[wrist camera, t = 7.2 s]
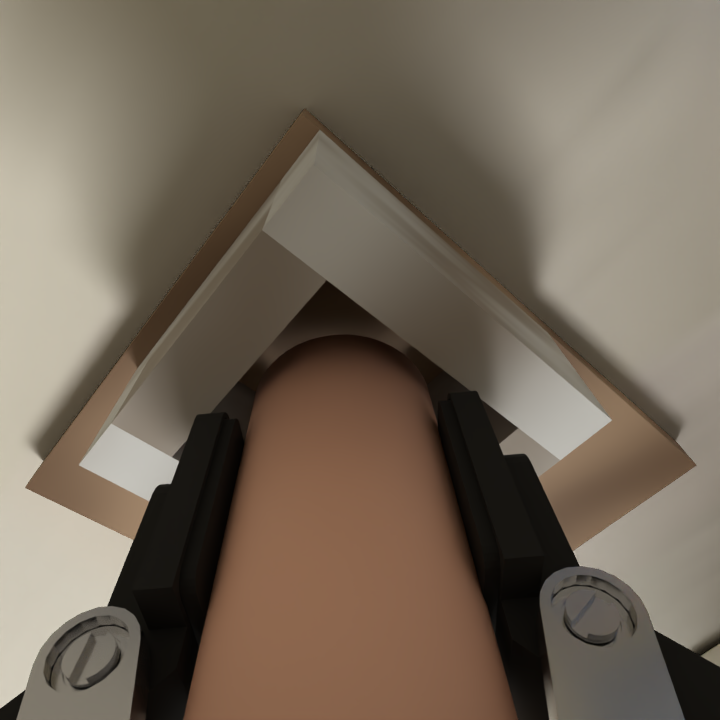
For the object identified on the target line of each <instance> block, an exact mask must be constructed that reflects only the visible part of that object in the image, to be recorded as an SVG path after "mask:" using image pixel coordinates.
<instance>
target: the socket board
mask: <svg viewBox="0 0 720 720" xmlns="http://www.w3.org/2000/svg"><path fill="white" fill-rule="evenodd" d="M343 334H348V335H359V336H364V337H369V338H373V339H376V340H378V341H381V342H384V343H386V344H388V345H390V346H392V347H394V348H395V349H397V350H398V351H400V352H402V353H403V354H404V355H405V356H406V357H408V358H409V359H410V360H411V361H412V362H413V363H414V365H415V366H416V367H417V368H418V369H419V371H420V373H421V374H422V376H423V377H424V380H425V382H426V384H427V387H428V390H429V394H430V398H431V401H432V405H433V409H434V412H435V416H436V420H437V423H438V401H445V400H447V396H448V393H453V392H465V391H477V392H478V394H479V396H480V399H481V401H482V404H483V406H484V409H485V411H486V413H487V416H488V418H489V421H490V423H491V426H492V428H493V431H494V433H495V435H496V438H497V440H498V443H499V445H500V448H501V450H502V453H503V455H511V454H523V453H524V454H526V455H527V456H528V458H529V459H530V461H531V463H532V465H533V467H534V470H535V472H536V474H537V476H538V478H539V480H540V482H541V485H542V487H543V489H544V491H545V493H546V495H547V497H548V500H549V502H550V504H551V506H552V508H553V510H554V512H555V515H556V517H557V519H558V521H559V523H560V525H561V527H562V530H563V532H564V534H565V536H566V538H567V540H568V542H569V545H570V547H571V549H572V551H573V550H575V549H576V548H578V547H579V546H580V545H582V544H583V543H585V542H586V541H588V540H589V539H591V538H592V537H593V536H595V535H596V534H598V533H599V532H601V531H602V530H604V529H605V528H607V527H608V526H609V525H611V524H612V523H614V522H615V521H617V520H618V519H620V518H621V517H622V516H624V515H625V514H627V513H628V512H630V511H631V510H633V509H634V508H636V507H637V506H638V505H640V504H641V503H643V502H644V501H646V500H647V499H649V498H650V497H651V496H653V495H654V494H656V493H657V492H659V491H660V490H662V489H663V488H665V487H666V486H667V485H669V484H670V483H672V482H673V481H675V480H676V479H678V478H679V477H680V476H682V475H683V474H685V473H686V472H688V471H689V470H691V469H692V468H694V467H695V466H696V464H695V463H694V462H693V461H692V459H691V458H690V457H689V456H688V455H687V454H686V452H685V451H684V450H683V449H682V448H681V447H680V445H679V444H678V443H677V442H676V441H675V440H674V439H673V438H672V437H670V436H669V435H668V434H667V433H666V432H665V431H664V430H663V429H662V428H660V427H659V426H658V425H657V424H656V423H655V422H654V421H653V420H651V419H650V418H649V417H648V416H647V415H646V414H645V413H644V412H643V411H641V410H640V409H639V408H638V407H637V406H636V405H635V404H634V403H633V402H631V401H630V400H629V399H628V398H627V397H626V396H625V395H624V394H623V393H621V392H620V391H619V390H618V389H617V388H616V387H615V386H614V385H612V384H611V383H610V382H609V381H608V380H607V379H606V378H605V377H604V376H602V375H601V374H600V373H599V372H598V371H597V370H596V369H595V368H594V367H592V366H591V365H590V364H589V363H588V362H587V361H586V360H585V359H584V358H582V357H581V356H580V355H579V354H578V353H577V352H576V351H575V350H573V349H572V348H571V347H570V346H569V345H568V344H567V343H566V342H565V341H563V340H562V339H561V338H560V337H559V336H558V335H557V334H556V333H555V332H553V331H552V330H551V329H550V328H549V327H548V326H547V325H546V324H545V323H543V322H542V321H541V320H540V319H539V318H538V317H537V316H536V315H534V314H533V313H532V312H531V311H530V310H529V309H528V308H527V307H526V306H524V305H523V304H522V303H521V302H520V301H519V300H518V299H517V298H516V297H514V296H513V295H512V294H511V293H510V292H509V291H508V290H507V289H506V288H504V287H503V286H502V285H501V284H500V283H499V282H498V281H497V280H495V279H494V278H493V277H492V276H491V275H490V274H489V273H488V272H487V271H485V270H484V269H483V268H482V267H481V266H480V265H479V264H478V263H477V262H475V261H474V260H473V259H472V258H471V257H470V256H469V255H468V254H467V253H465V252H464V251H463V250H462V249H461V248H460V247H459V246H458V245H456V244H455V243H454V242H453V241H452V240H451V239H450V238H449V237H448V236H446V235H445V234H444V233H443V232H442V231H441V230H440V229H439V228H438V227H436V226H435V225H434V224H433V223H432V222H431V221H430V220H429V219H428V218H426V217H425V216H424V215H423V214H422V213H421V212H420V211H419V210H417V209H416V208H415V207H414V206H413V205H412V204H411V203H410V202H409V201H407V200H406V199H405V198H404V197H403V196H402V195H401V194H400V193H399V192H397V191H396V190H395V189H394V188H393V187H392V186H391V185H390V184H389V183H387V182H386V181H385V180H384V179H383V178H382V177H381V176H380V175H378V174H377V173H376V172H375V171H374V170H373V169H372V168H371V167H370V166H368V165H367V164H366V163H365V162H364V161H363V160H362V159H361V158H360V157H358V156H357V155H356V154H355V153H354V152H353V151H352V150H351V149H350V148H348V147H347V146H346V145H345V144H344V143H343V142H342V141H341V140H339V139H338V138H337V137H336V136H335V135H334V134H333V133H332V132H331V131H329V130H328V129H327V128H326V127H325V126H324V125H323V124H322V123H321V122H319V121H318V120H317V119H316V118H315V117H314V116H313V115H312V114H311V113H309V112H308V111H307V110H306V109H305V108H304V110H303V111H302V112H301V114H300V115H299V116H298V118H297V119H296V120H295V122H294V123H293V124H292V126H291V127H290V128H289V130H288V131H287V132H286V134H285V135H284V137H283V138H282V139H281V141H280V142H279V143H278V145H277V146H276V147H275V149H274V150H273V151H272V153H271V154H270V155H269V157H268V158H267V160H266V161H265V162H264V164H263V165H262V166H261V168H260V169H259V170H258V172H257V173H256V174H255V176H254V177H253V178H252V180H251V181H250V183H249V184H248V185H247V187H246V188H245V189H244V191H243V192H242V193H241V195H240V196H239V197H238V199H237V200H236V201H235V203H234V204H233V206H232V207H231V208H230V210H229V211H228V212H227V214H226V215H225V216H224V218H223V219H222V220H221V222H220V223H219V224H218V226H217V227H216V229H215V230H214V231H213V233H212V234H211V235H210V237H209V238H208V239H207V241H206V242H205V243H204V245H203V246H202V247H201V249H200V250H199V251H198V253H197V254H196V256H195V257H194V258H193V260H192V261H191V262H190V264H189V265H188V266H187V268H186V269H185V270H184V272H183V273H182V274H181V276H180V277H179V279H178V280H177V281H176V283H175V284H174V285H173V287H172V288H171V289H170V291H169V292H168V293H167V295H166V296H165V297H164V299H163V300H162V302H161V303H160V304H159V306H158V307H157V308H156V310H155V311H154V312H153V314H152V315H151V316H150V318H149V319H148V320H147V322H146V323H145V325H144V326H143V327H142V329H141V330H140V331H139V333H138V334H137V335H136V337H135V338H134V339H133V341H132V342H131V343H130V345H129V346H128V348H127V349H126V350H125V352H124V353H123V354H122V356H121V357H120V358H119V360H118V361H117V362H116V364H115V365H114V366H113V368H112V369H111V370H110V372H109V373H108V375H107V376H106V377H105V379H104V380H103V381H102V383H101V384H100V385H99V387H98V388H97V389H96V391H95V392H94V393H93V395H92V396H91V398H90V399H89V400H88V402H87V403H86V404H85V406H84V407H83V408H82V410H81V411H80V412H79V414H78V415H77V416H76V418H75V419H74V421H73V422H72V423H71V425H70V426H69V427H68V429H67V430H66V431H65V433H64V434H63V435H62V437H61V438H60V439H59V441H58V442H57V444H56V445H55V446H54V448H53V449H52V450H51V452H50V453H49V454H48V456H47V457H46V458H45V460H44V461H43V462H42V464H41V465H40V467H39V468H38V470H37V471H36V473H35V474H34V475H33V477H32V478H31V480H30V481H29V483H28V484H27V485H26V487H25V488H27V489H29V490H31V491H33V492H35V493H37V494H39V495H41V496H43V497H45V498H47V499H49V500H52V501H54V502H56V503H58V504H60V505H62V506H64V507H66V508H68V509H70V510H72V511H74V512H76V513H79V514H81V515H83V516H85V517H87V518H89V519H91V520H93V521H95V522H97V523H99V524H101V525H104V526H106V527H108V528H110V529H112V530H114V531H116V532H118V533H120V534H122V535H124V536H126V537H128V538H131V539H133V540H134V538H135V536H136V533H137V531H138V528H139V526H140V523H141V521H142V518H143V516H144V513H145V511H146V508H147V506H148V503H149V501H150V498H151V496H152V493H153V492H154V490H155V488H156V487H157V486H158V485H160V484H171V482H172V480H173V477H174V474H175V471H176V469H177V466H178V463H179V460H180V458H181V455H182V452H183V449H184V447H185V444H186V441H187V439H188V436H189V433H190V430H191V428H192V425H193V422H194V419H195V417H196V415H198V414H208V413H220V412H226V413H227V414H228V416H229V418H230V419H235V418H237V419H238V421H239V423H240V427H241V432H242V436H243V440H244V443H245V438H246V434H247V429H248V425H249V420H250V416H251V411H252V407H253V402H254V398H255V393H256V390H257V387H258V384H259V382H260V380H261V378H262V376H263V375H264V373H265V372H266V370H267V369H268V368H269V366H270V365H271V364H272V363H273V362H274V361H275V360H276V359H277V358H278V357H279V356H281V355H282V354H283V353H285V352H286V351H287V350H289V349H291V348H293V347H294V346H296V345H298V344H300V343H303V342H305V341H308V340H311V339H314V338H318V337H322V336H329V335H343Z"/></svg>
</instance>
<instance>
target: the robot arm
mask: <svg viewBox="0 0 720 720" xmlns="http://www.w3.org/2000/svg"><path fill="white" fill-rule="evenodd" d="M438 431H439V435H440V438H441V442H442V446H443V450H444V453H445V457H446V461H447V464H448V468H449V472H450V476H451V479H452V483H453V487H454V490H455V494H456V498H457V502H458V505H459V509H460V513H461V517H462V520H463V524H464V528H465V531H466V535H467V539H468V543H469V546H470V550H471V554H472V557H473V561H474V565H475V569H476V572H477V576H478V580H479V584H480V587H481V591H482V595H483V598H484V600H485V602H486V604H487V607H488V611H489V614H490V618H491V622H492V625H493V629H494V633H495V636H496V640H497V644H498V647H499V651H500V655H501V658H502V662H503V666H504V669H505V673H506V677H507V680H508V684H509V688H510V692H511V695H512V699H513V703H514V706H515V710H516V714H517V717H518V720H720V644H718V645H716V646H715V647H713V648H712V649H710V650H709V651H707V652H706V653H704V654H703V655H701V656H700V655H698V654H696V653H694V652H692V651H691V650H689V649H687V648H685V647H684V646H682V645H680V644H678V643H676V642H675V641H673V640H671V639H669V638H668V637H666V636H664V635H662V634H660V633H659V632H657V631H655V630H654V629H653V626H652V623H651V620H650V617H649V614H648V612H647V610H646V608H645V606H644V604H643V602H642V601H641V599H640V597H639V596H638V595H637V594H636V593H635V592H634V591H633V590H632V589H631V588H630V587H629V586H628V585H627V584H625V583H624V582H623V581H621V580H620V579H618V578H617V577H615V576H614V575H611V574H609V573H606V572H604V571H602V570H599V569H595V568H589V567H583V566H579V564H578V562H577V560H576V557H575V555H574V553H573V551H572V549H571V547H570V545H569V542H568V540H567V538H566V536H565V534H564V532H563V530H562V527H561V525H560V523H559V521H558V519H557V517H556V515H555V512H554V510H553V508H552V506H551V504H550V502H549V500H548V497H547V495H546V493H545V491H544V489H543V487H542V485H541V482H540V480H539V478H538V476H537V474H536V472H535V470H534V467H533V465H532V463H531V461H530V459H529V458H528V456H527V455H526V454H524V453H523V454H511V455H503V453H502V450H501V448H500V445H499V443H498V440H497V438H496V435H495V433H494V431H493V428H492V426H491V423H490V421H489V418H488V416H487V413H486V411H485V409H484V406H483V404H482V401H481V399H480V396H479V394H478V392H477V391H465V392H453V393H448V396H447V400H445V401H438ZM243 447H244V440H243V436H242V432H241V427H240V423H239V421H238V419H237V418H235V419H230V418H229V416H228V414H227V413H226V412H220V413H208V414H198V415H196V417H195V419H194V422H193V425H192V428H191V430H190V433H189V436H188V439H187V441H186V444H185V447H184V449H183V452H182V455H181V458H180V460H179V463H178V466H177V469H176V471H175V474H174V477H173V480H172V482H171V484H160V485H158V486H157V487H156V488H155V490H154V492H153V493H152V496H151V498H150V501H149V503H148V506H147V508H146V511H145V513H144V516H143V518H142V521H141V523H140V526H139V528H138V531H137V533H136V536H135V538H134V541H133V543H132V546H131V548H130V551H129V553H128V556H127V558H126V561H125V563H124V566H123V568H122V571H121V573H120V576H119V578H118V581H117V583H116V586H115V588H114V591H113V593H112V596H111V598H110V601H109V603H108V606H107V607H98V608H95V609H92V610H89V611H86V612H83V613H81V614H79V615H77V616H76V617H74V618H72V619H71V620H69V621H67V622H66V623H65V624H63V625H62V626H61V627H60V628H59V629H58V630H56V631H55V632H54V633H53V634H52V635H51V636H50V637H49V639H48V640H47V641H46V643H45V644H44V645H43V646H42V648H41V649H40V651H39V653H38V655H37V658H36V660H35V662H34V664H33V667H32V670H31V673H30V677H29V680H28V683H27V687H26V690H25V691H23V692H22V693H21V694H19V695H18V696H17V697H15V698H14V699H13V700H11V701H10V702H9V703H7V704H6V705H5V706H3V707H2V708H1V709H0V720H183V718H184V714H185V709H186V705H187V700H188V696H189V691H190V687H191V682H192V678H193V673H194V669H195V664H196V659H197V655H198V650H199V646H200V641H201V637H202V632H203V628H204V623H205V619H206V614H207V610H208V605H209V601H210V596H211V592H212V587H213V583H214V578H215V574H216V569H217V565H218V560H219V556H220V551H221V547H222V542H223V538H224V533H225V529H226V524H227V520H228V515H229V511H230V506H231V502H232V497H233V493H234V488H235V484H236V479H237V475H238V470H239V466H240V461H241V456H242V452H243Z"/></svg>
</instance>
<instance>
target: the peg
mask: <svg viewBox="0 0 720 720" xmlns="http://www.w3.org/2000/svg"><path fill="white" fill-rule="evenodd" d="M183 720H518V717H517V714H516V710H515V706H514V703H513V699H512V695H511V692H510V688H509V684H508V680H507V677H506V673H505V669H504V666H503V662H502V658H501V655H500V651H499V647H498V644H497V640H496V636H495V633H494V629H493V625H492V622H491V618H490V614H489V611H488V607H487V604H486V602H485V600H484V598H483V595H482V591H481V587H480V584H479V580H478V576H477V572H476V569H475V565H474V561H473V557H472V554H471V550H470V546H469V543H468V539H467V535H466V531H465V528H464V524H463V520H462V517H461V513H460V509H459V505H458V502H457V498H456V494H455V490H454V487H453V483H452V479H451V476H450V472H449V468H448V464H447V461H446V457H445V453H444V450H443V446H442V442H441V438H440V435H439V431H438V423H437V420H436V416H435V412H434V409H433V405H432V401H431V398H430V394H429V390H428V387H427V384H426V382H425V380H424V377H423V376H422V374H421V373H420V371H419V369H418V368H417V367H416V366H415V365H414V363H413V362H412V361H411V360H410V359H409V358H408V357H406V356H405V355H404V354H403V353H402V352H400V351H398V350H397V349H395V348H394V347H392V346H390V345H388V344H386V343H384V342H381V341H378V340H376V339H373V338H369V337H364V336H359V335H348V334H343V335H329V336H322V337H318V338H314V339H311V340H308V341H305V342H303V343H300V344H298V345H296V346H294V347H293V348H291V349H289V350H287V351H286V352H285V353H283V354H282V355H281V356H279V357H278V358H277V359H276V360H275V361H274V362H273V363H272V364H271V365H270V366H269V368H268V369H267V370H266V372H265V373H264V375H263V376H262V378H261V380H260V382H259V384H258V387H257V390H256V393H255V398H254V402H253V407H252V411H251V416H250V420H249V425H248V429H247V434H246V438H245V443H244V447H243V452H242V456H241V461H240V466H239V470H238V475H237V479H236V484H235V488H234V493H233V497H232V502H231V506H230V511H229V515H228V520H227V524H226V529H225V533H224V538H223V542H222V547H221V551H220V556H219V560H218V565H217V569H216V574H215V578H214V583H213V587H212V592H211V596H210V601H209V605H208V610H207V614H206V619H205V623H204V628H203V632H202V637H201V641H200V646H199V650H198V655H197V659H196V664H195V669H194V673H193V678H192V682H191V687H190V691H189V696H188V700H187V705H186V709H185V714H184V718H183Z"/></svg>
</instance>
